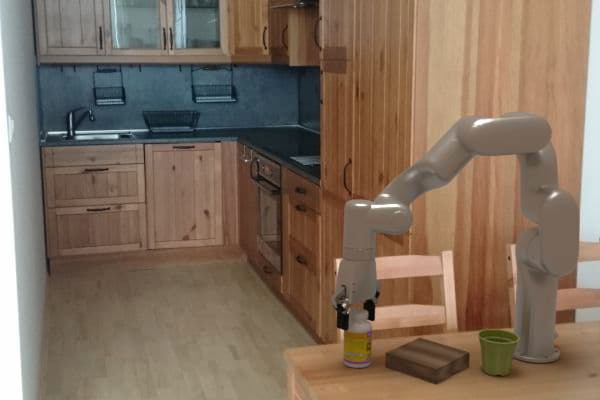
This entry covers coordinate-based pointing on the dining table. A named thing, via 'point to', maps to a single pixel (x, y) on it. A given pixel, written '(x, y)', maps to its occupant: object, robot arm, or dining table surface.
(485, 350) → the plant pot
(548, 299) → the robot arm
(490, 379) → the dining table surface
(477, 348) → the dining table surface
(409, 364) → the brown wooden square slab
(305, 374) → the dining table surface
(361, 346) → the supplement bottle
